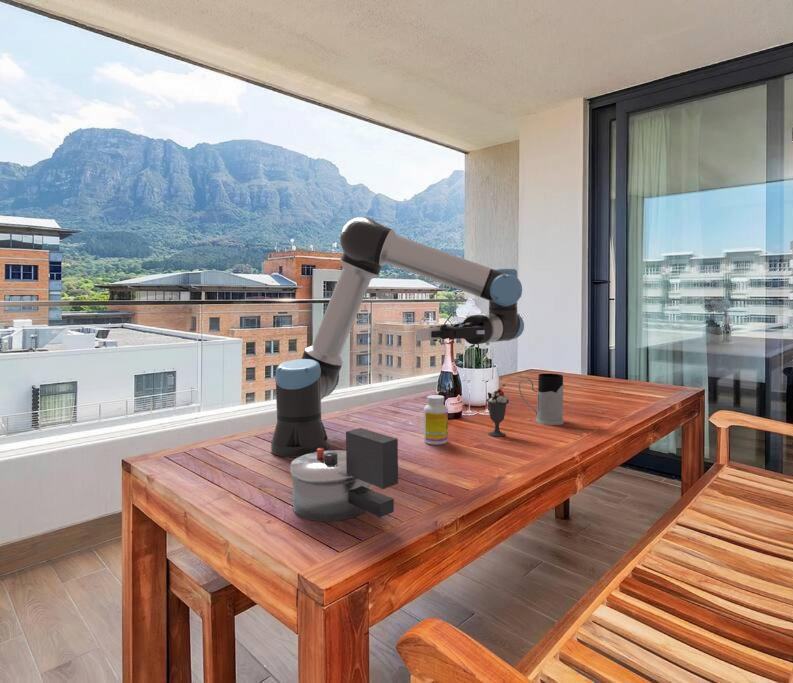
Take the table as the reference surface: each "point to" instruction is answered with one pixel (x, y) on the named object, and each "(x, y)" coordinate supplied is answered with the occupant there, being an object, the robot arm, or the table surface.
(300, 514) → the pot
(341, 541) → the table surface
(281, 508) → the table surface
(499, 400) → the sundae
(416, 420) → the table surface
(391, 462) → the lid
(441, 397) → the supplement bottle
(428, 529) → the table surface
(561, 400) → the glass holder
